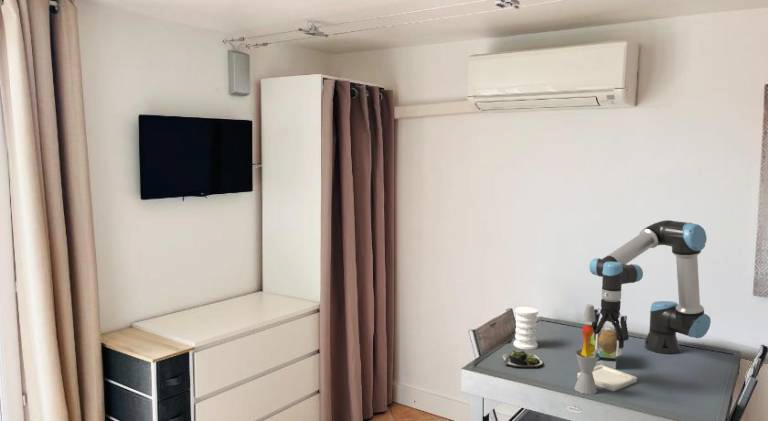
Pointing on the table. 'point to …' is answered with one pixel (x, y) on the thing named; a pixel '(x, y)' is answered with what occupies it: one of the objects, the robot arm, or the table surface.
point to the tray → (611, 378)
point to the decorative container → (526, 328)
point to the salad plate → (522, 360)
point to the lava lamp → (587, 356)
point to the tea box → (604, 353)
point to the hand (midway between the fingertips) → (608, 351)
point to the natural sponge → (608, 341)
